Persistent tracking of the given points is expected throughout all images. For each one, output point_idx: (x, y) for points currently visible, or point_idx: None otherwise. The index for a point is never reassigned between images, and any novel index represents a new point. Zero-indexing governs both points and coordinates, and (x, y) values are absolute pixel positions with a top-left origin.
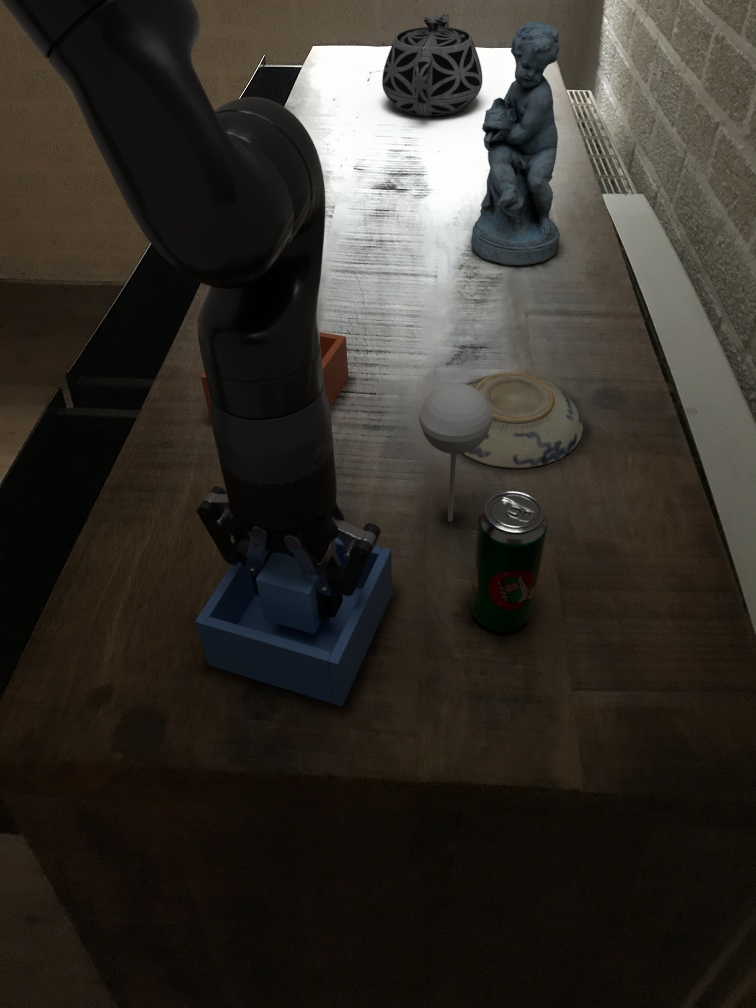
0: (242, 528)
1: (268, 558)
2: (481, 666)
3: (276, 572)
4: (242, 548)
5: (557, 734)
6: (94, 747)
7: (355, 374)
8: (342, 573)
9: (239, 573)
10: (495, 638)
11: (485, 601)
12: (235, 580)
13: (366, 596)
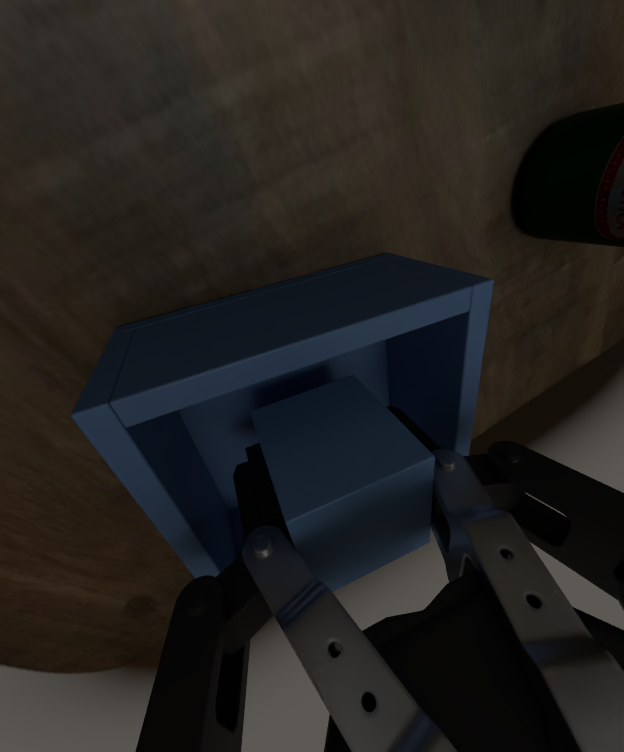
0: (214, 676)
1: None
2: (525, 295)
3: (344, 566)
4: (242, 635)
5: (590, 323)
6: None
7: None
8: (498, 501)
9: (202, 533)
10: (542, 240)
11: (607, 245)
12: (208, 542)
13: (471, 416)
